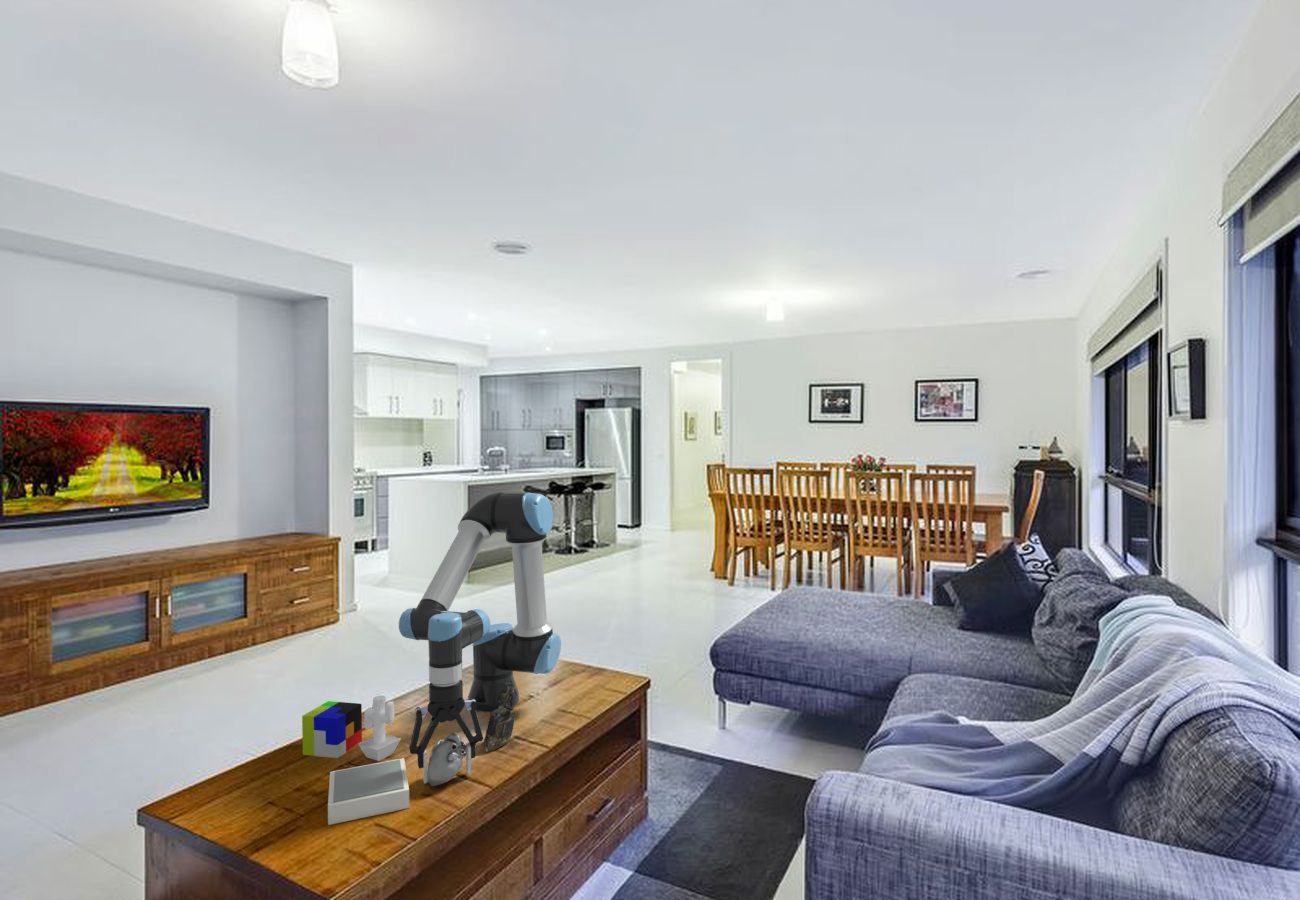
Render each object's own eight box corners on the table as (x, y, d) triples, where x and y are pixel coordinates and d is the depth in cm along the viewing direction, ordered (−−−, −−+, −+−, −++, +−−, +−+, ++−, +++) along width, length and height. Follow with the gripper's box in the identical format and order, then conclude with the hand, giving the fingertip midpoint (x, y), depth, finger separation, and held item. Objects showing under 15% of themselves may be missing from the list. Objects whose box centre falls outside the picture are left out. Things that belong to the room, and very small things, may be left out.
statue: (475, 751, 175) (475, 693, 174) (504, 733, 185) (504, 678, 185) (493, 755, 172) (492, 696, 172) (521, 736, 183) (521, 681, 183)
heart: (446, 764, 167) (439, 719, 165) (476, 772, 163) (470, 726, 161) (416, 790, 158) (408, 743, 156) (446, 799, 154) (439, 751, 152)
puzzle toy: (337, 758, 172) (337, 719, 171) (302, 754, 174) (302, 716, 173) (362, 741, 181) (361, 703, 181) (328, 737, 183) (328, 701, 183)
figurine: (378, 745, 178) (377, 689, 178) (404, 753, 174) (403, 695, 173) (355, 757, 172) (354, 698, 171) (381, 765, 167) (380, 705, 167)
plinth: (404, 774, 163) (404, 756, 163) (409, 807, 148) (409, 788, 148) (330, 788, 156) (330, 770, 156) (328, 825, 142) (327, 804, 142)
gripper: (490, 669, 167) (491, 759, 168) (395, 683, 159) (396, 778, 159) (495, 679, 161) (497, 773, 161) (397, 694, 152) (398, 793, 152)
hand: (447, 775), depth 160 cm, fingers closed on heart, 9 cm apart
